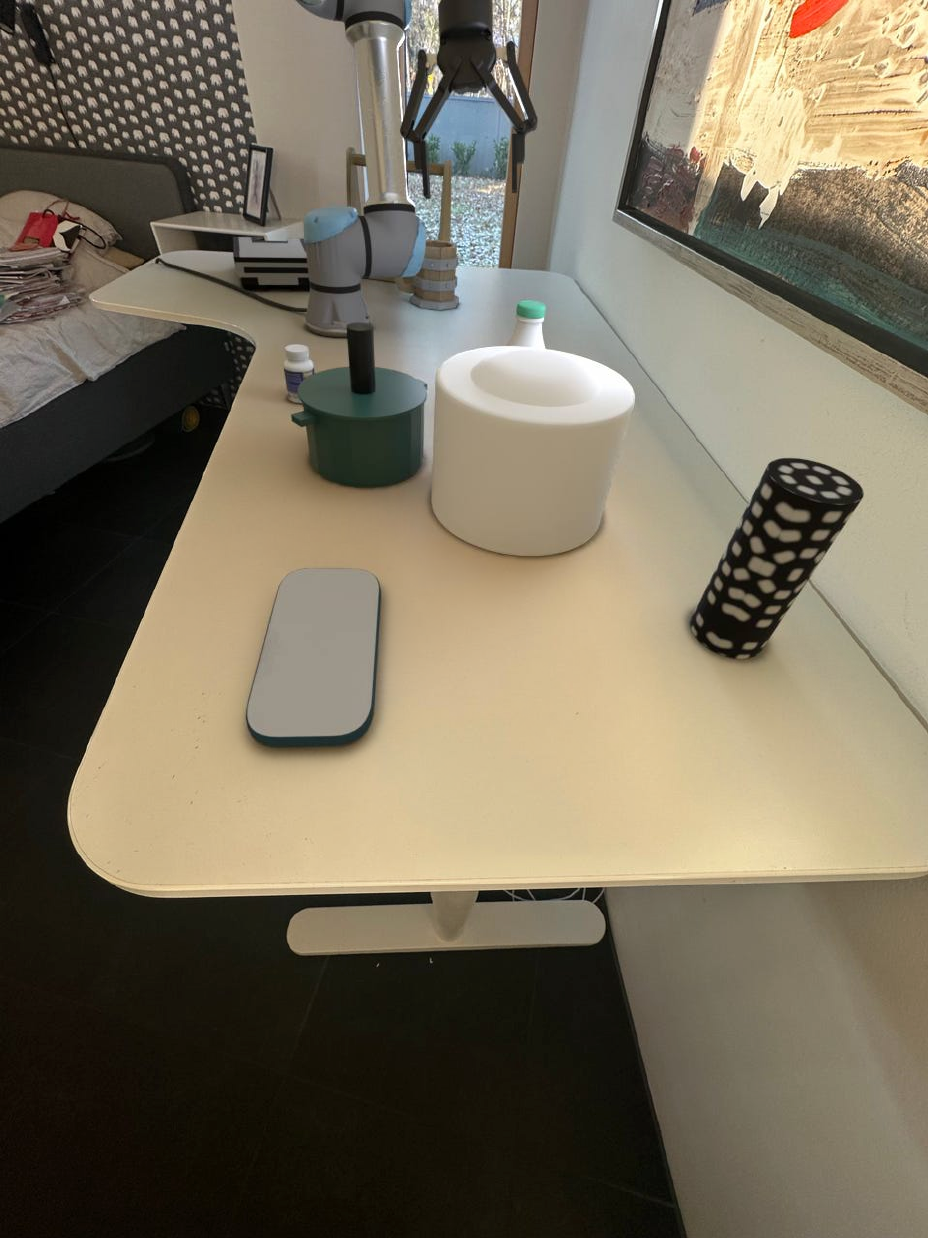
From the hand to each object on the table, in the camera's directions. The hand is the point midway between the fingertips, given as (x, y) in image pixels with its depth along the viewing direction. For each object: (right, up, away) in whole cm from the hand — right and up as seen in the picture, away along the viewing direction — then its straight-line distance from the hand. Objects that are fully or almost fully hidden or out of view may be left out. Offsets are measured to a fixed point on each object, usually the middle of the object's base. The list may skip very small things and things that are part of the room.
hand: (470, 194), depth 85 cm
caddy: (-21, +40, +85) cm, 97 cm away
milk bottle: (+8, -30, +16) cm, 35 cm away
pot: (-17, -40, +3) cm, 44 cm away
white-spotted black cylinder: (+30, -68, -21) cm, 77 cm away
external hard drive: (-16, -70, -27) cm, 76 cm away
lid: (-16, -33, -5) cm, 37 cm away
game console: (-56, +35, +76) cm, 101 cm away
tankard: (-13, +23, +69) cm, 74 cm away
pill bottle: (-31, -25, +18) cm, 43 cm away
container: (+7, -49, -4) cm, 50 cm away
